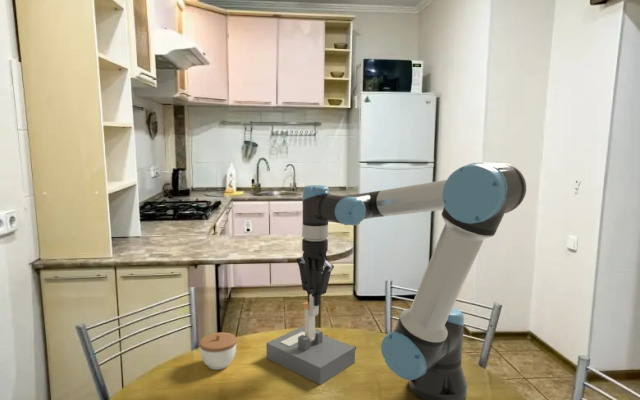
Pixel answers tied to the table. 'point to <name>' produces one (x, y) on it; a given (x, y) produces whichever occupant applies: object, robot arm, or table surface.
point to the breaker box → (311, 355)
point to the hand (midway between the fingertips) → (313, 314)
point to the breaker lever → (309, 323)
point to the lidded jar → (218, 349)
